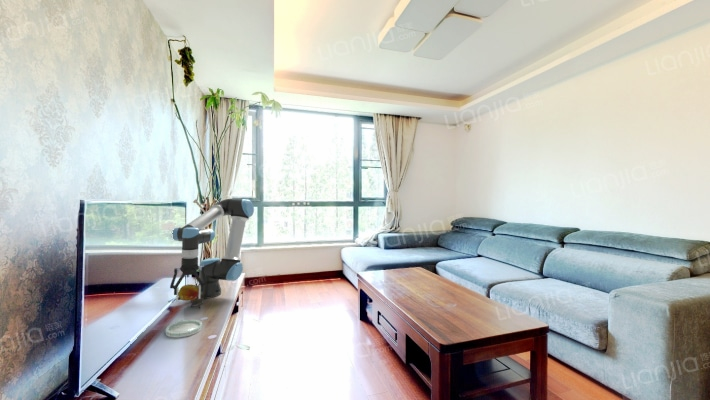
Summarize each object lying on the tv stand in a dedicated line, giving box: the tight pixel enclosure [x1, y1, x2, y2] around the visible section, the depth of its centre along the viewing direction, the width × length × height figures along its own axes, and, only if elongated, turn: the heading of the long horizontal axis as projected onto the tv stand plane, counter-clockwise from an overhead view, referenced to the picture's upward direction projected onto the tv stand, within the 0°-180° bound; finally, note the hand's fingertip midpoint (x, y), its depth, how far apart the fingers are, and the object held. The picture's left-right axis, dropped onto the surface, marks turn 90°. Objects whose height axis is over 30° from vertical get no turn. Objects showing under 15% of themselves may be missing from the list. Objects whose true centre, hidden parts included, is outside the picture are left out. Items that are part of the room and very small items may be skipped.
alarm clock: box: [189, 278, 204, 309], centre depth 163 cm, size 11×5×16 cm, turn 47°
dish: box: [165, 319, 203, 339], centre depth 134 cm, size 15×15×2 cm
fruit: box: [178, 283, 199, 302], centre depth 148 cm, size 10×9×8 cm
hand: (188, 299), depth 148 cm, fingers closed on fruit, 9 cm apart
